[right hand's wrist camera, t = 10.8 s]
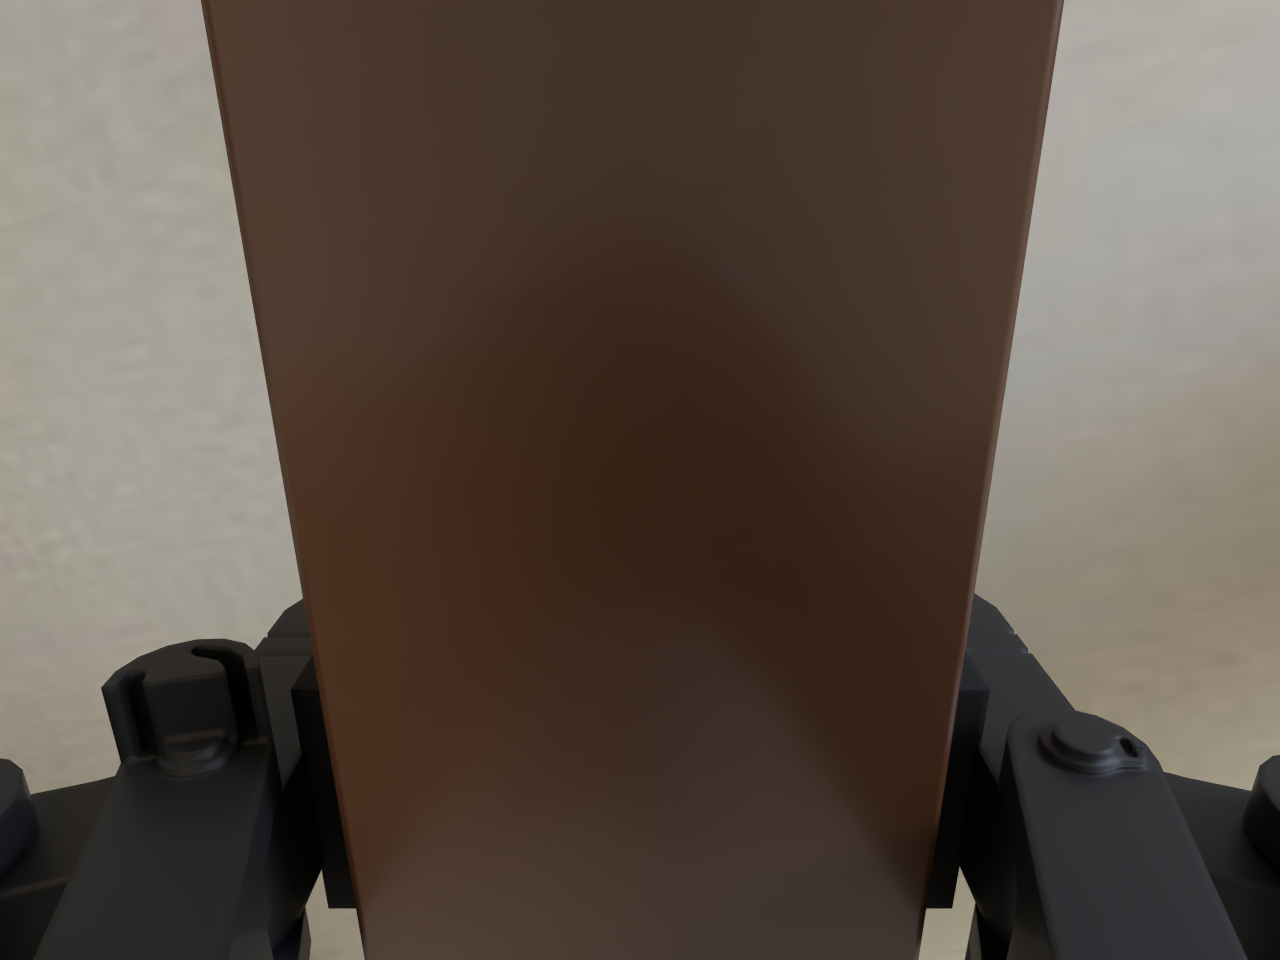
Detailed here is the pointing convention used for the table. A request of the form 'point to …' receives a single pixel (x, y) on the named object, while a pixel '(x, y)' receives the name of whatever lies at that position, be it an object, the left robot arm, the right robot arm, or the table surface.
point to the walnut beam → (636, 444)
